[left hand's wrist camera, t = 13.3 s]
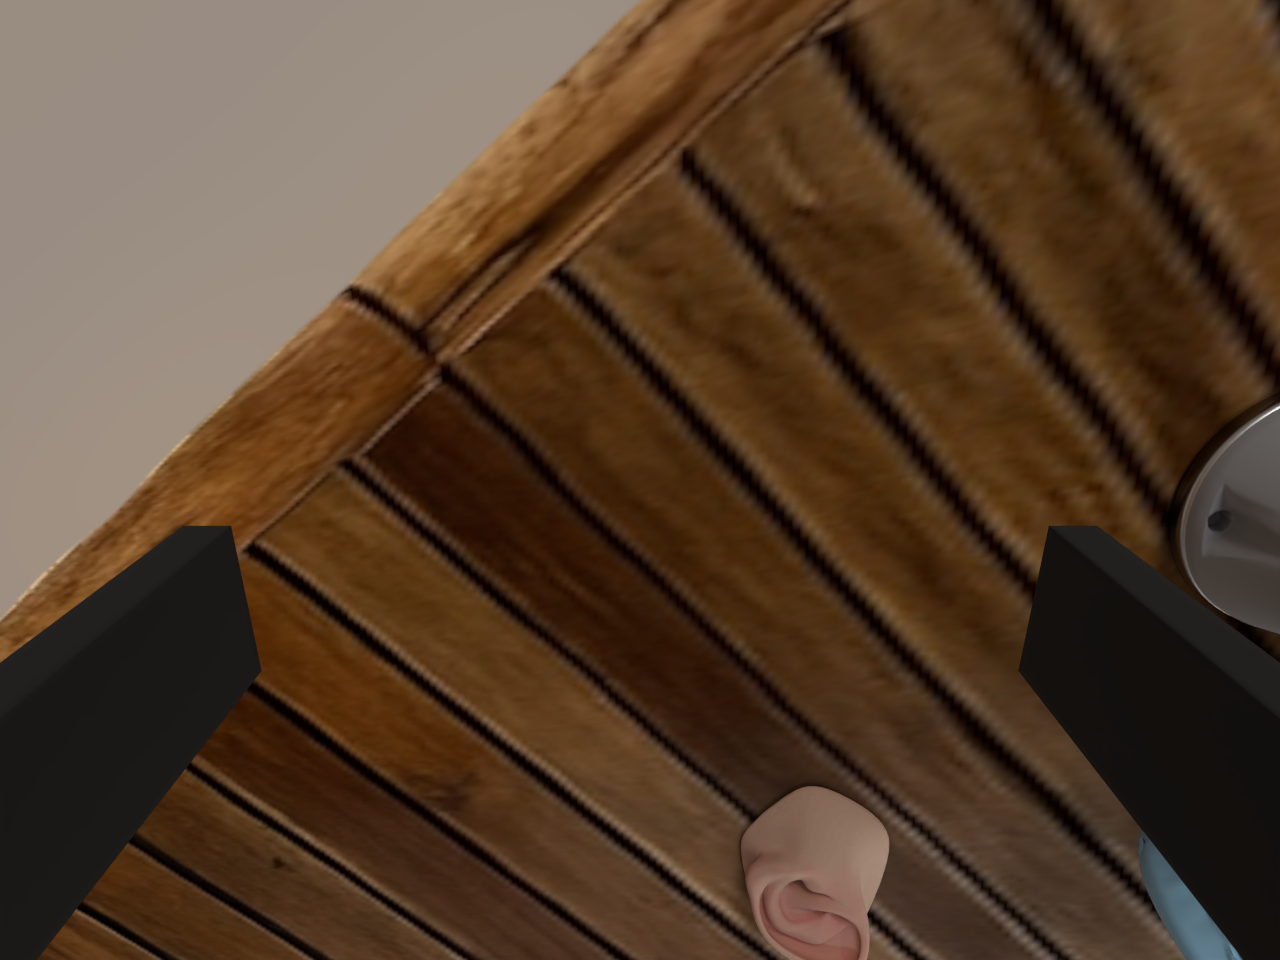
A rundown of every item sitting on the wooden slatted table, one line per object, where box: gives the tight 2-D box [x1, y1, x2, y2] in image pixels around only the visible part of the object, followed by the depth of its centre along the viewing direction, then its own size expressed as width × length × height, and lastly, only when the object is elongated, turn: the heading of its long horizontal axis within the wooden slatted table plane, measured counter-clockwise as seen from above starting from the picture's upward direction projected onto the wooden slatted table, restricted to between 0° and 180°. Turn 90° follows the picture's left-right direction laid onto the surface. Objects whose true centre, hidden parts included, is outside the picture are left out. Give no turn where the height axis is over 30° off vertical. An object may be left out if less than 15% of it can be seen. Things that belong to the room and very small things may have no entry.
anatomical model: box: [741, 786, 889, 960], centre depth 54 cm, size 13×4×12 cm
